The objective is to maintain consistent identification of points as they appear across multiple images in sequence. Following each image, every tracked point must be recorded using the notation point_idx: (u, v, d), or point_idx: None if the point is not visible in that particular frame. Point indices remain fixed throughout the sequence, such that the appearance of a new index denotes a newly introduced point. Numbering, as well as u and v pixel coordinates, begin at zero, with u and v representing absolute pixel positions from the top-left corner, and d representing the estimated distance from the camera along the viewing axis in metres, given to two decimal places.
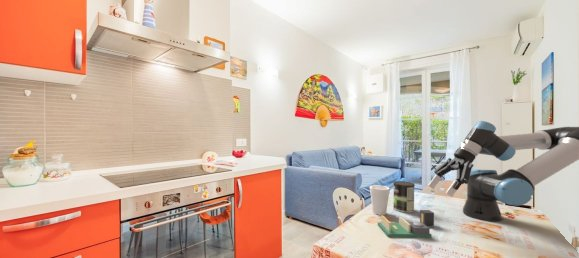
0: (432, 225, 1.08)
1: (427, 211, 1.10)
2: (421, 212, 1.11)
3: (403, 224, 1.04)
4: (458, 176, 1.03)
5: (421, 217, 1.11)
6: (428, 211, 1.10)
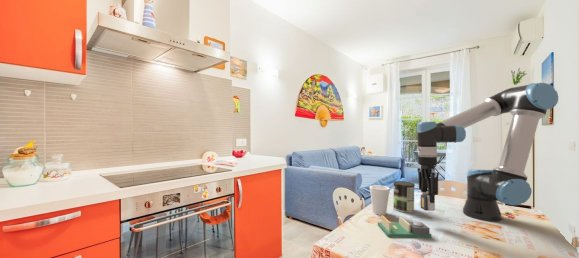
0: None
1: None
2: (421, 196, 1.11)
3: (403, 224, 1.04)
4: (429, 189, 1.07)
5: (421, 201, 1.11)
6: None
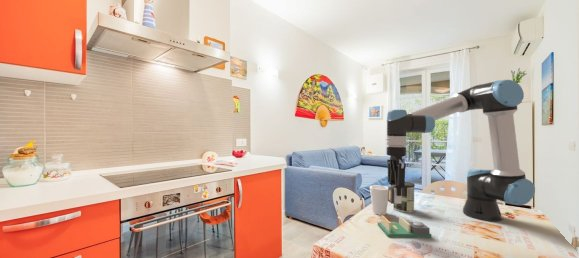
0: None
1: None
2: (389, 189, 1.05)
3: (403, 224, 1.04)
4: (395, 182, 1.01)
5: (389, 194, 1.05)
6: None
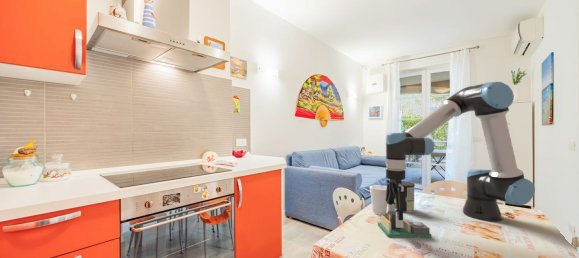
0: None
1: (394, 212, 1.04)
2: (388, 213, 1.05)
3: (403, 224, 1.04)
4: (397, 205, 0.99)
5: (388, 219, 1.04)
6: None
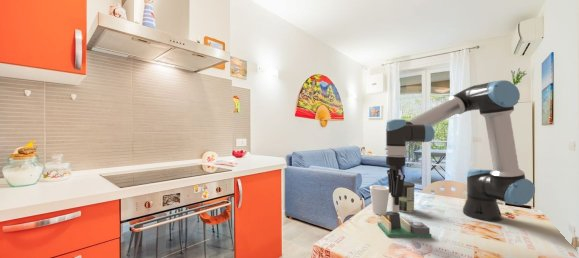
0: (399, 227, 1.02)
1: (393, 212, 1.04)
2: (387, 214, 1.05)
3: (403, 224, 1.04)
4: (394, 191, 1.02)
5: (387, 219, 1.04)
6: (394, 212, 1.04)
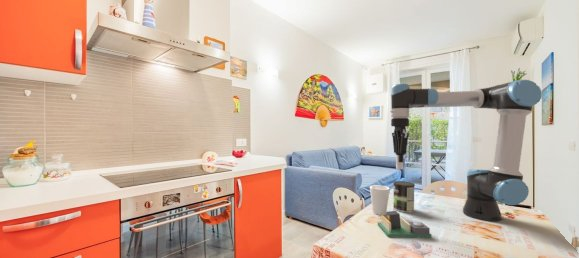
0: (399, 227, 1.02)
1: (393, 212, 1.04)
2: (387, 214, 1.05)
3: (403, 224, 1.04)
4: (398, 149, 1.12)
5: (387, 219, 1.04)
6: (394, 212, 1.04)
